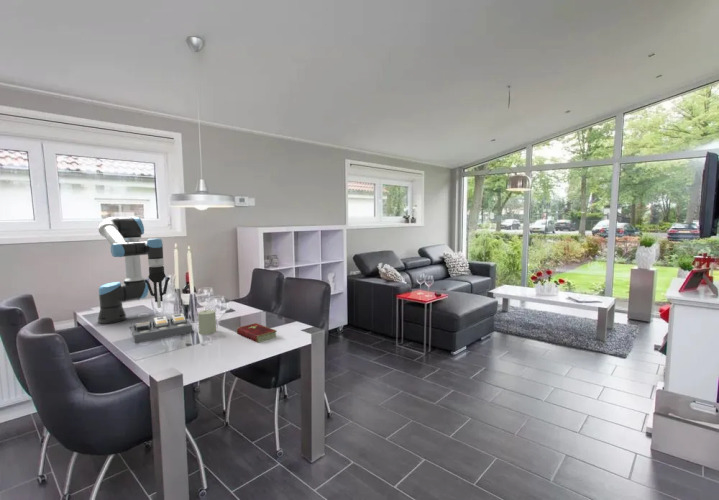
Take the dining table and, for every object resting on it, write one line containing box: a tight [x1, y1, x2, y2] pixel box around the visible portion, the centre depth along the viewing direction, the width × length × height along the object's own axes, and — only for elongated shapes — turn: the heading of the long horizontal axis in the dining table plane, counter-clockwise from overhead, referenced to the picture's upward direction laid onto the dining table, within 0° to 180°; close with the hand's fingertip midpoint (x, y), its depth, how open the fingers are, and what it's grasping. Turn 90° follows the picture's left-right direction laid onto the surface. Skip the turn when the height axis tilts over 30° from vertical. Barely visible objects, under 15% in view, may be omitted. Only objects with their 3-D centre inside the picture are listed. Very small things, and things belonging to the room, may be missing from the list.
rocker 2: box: [170, 313, 187, 324], centre depth 214 cm, size 8×6×2 cm
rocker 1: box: [135, 321, 151, 327], centre depth 203 cm, size 8×6×2 cm
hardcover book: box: [236, 322, 278, 343], centre depth 202 cm, size 12×21×4 cm, turn 46°
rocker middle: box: [153, 316, 168, 327], centre depth 209 cm, size 8×6×2 cm
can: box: [197, 309, 217, 336], centre depth 209 cm, size 9×9×12 cm
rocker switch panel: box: [130, 315, 193, 344], centre depth 207 cm, size 16×28×7 cm, turn 126°
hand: (159, 307), depth 210 cm, fingers closed
